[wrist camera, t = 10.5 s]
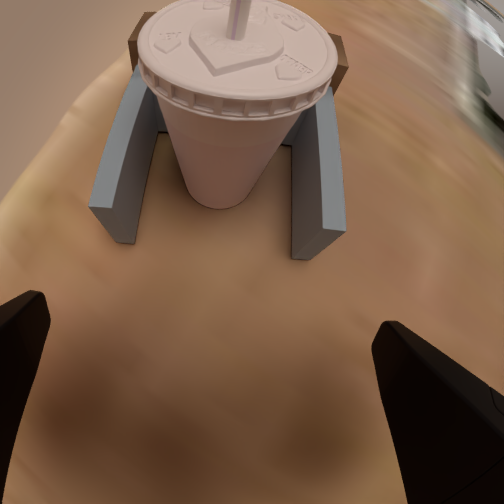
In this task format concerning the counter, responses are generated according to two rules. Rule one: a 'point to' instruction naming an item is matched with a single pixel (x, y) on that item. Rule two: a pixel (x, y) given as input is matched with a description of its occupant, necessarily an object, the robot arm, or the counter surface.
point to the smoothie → (232, 86)
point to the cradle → (299, 136)
